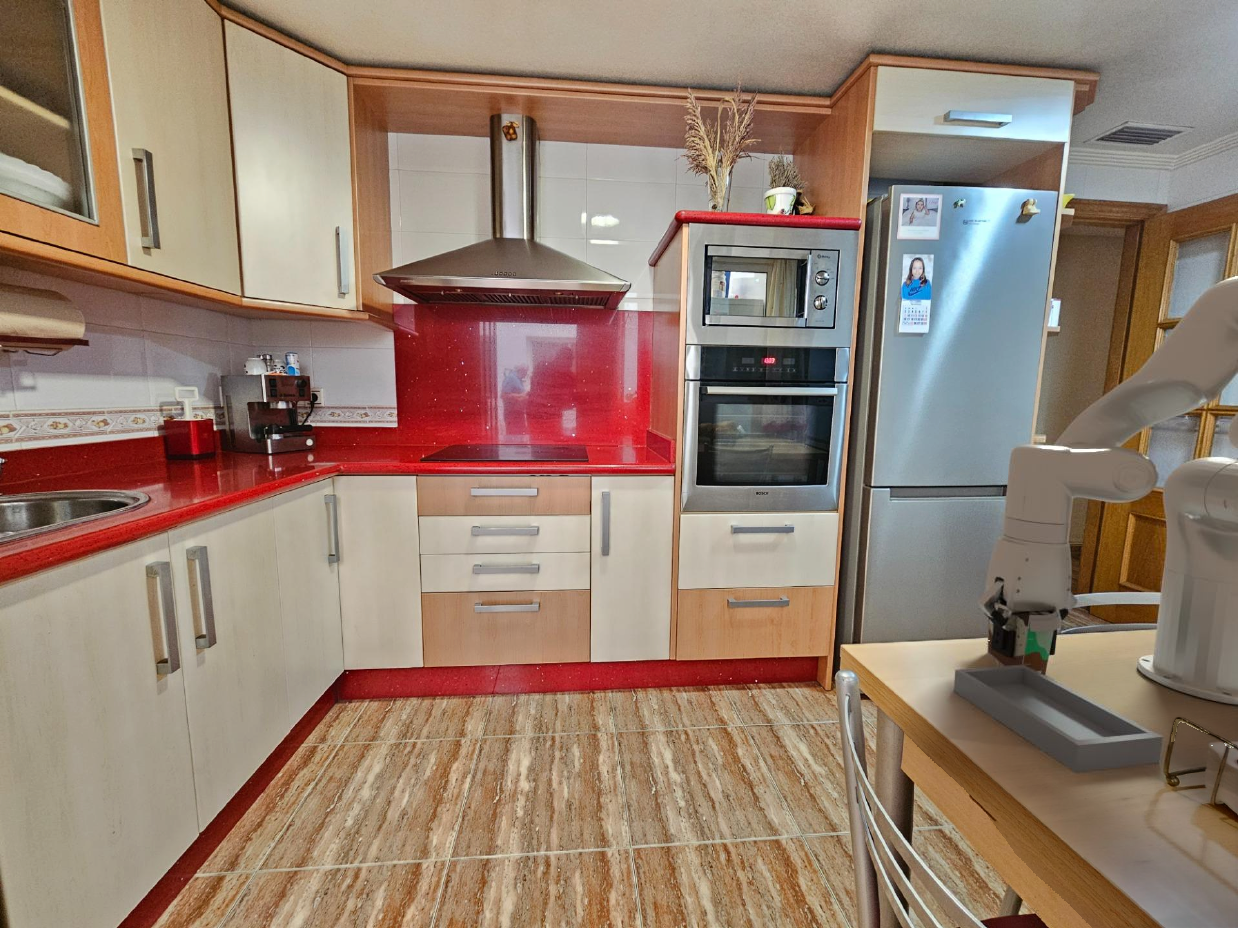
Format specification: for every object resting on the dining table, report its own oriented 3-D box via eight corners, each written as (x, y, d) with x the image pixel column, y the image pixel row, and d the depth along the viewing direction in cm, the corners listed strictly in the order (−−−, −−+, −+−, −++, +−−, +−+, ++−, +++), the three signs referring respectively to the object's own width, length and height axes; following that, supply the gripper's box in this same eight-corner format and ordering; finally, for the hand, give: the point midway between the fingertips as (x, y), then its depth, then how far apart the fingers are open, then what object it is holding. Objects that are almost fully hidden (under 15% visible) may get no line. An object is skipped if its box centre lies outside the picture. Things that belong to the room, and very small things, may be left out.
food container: (1077, 691, 73) (1083, 619, 72) (1026, 687, 74) (1032, 616, 73) (1026, 651, 85) (1031, 589, 84) (982, 648, 86) (987, 587, 85)
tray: (1022, 685, 75) (1023, 664, 74) (1159, 762, 58) (1162, 736, 58) (953, 690, 73) (955, 669, 73) (1075, 772, 57) (1078, 745, 56)
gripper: (1061, 525, 83) (1049, 638, 84) (961, 526, 80) (950, 643, 82) (1113, 536, 75) (1098, 661, 77) (1004, 538, 72) (992, 667, 74)
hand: (1022, 651), depth 79 cm, fingers closed on food container, 6 cm apart
